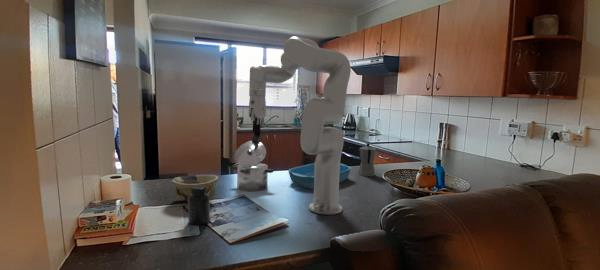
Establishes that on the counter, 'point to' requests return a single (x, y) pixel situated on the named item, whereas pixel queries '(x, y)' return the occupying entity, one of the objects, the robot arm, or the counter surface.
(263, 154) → the lid
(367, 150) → the coffeepot
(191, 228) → the counter surface
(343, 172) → the casserole dish
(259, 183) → the pot
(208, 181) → the bowl
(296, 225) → the counter surface
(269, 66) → the robot arm
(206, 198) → the supplement bottle
